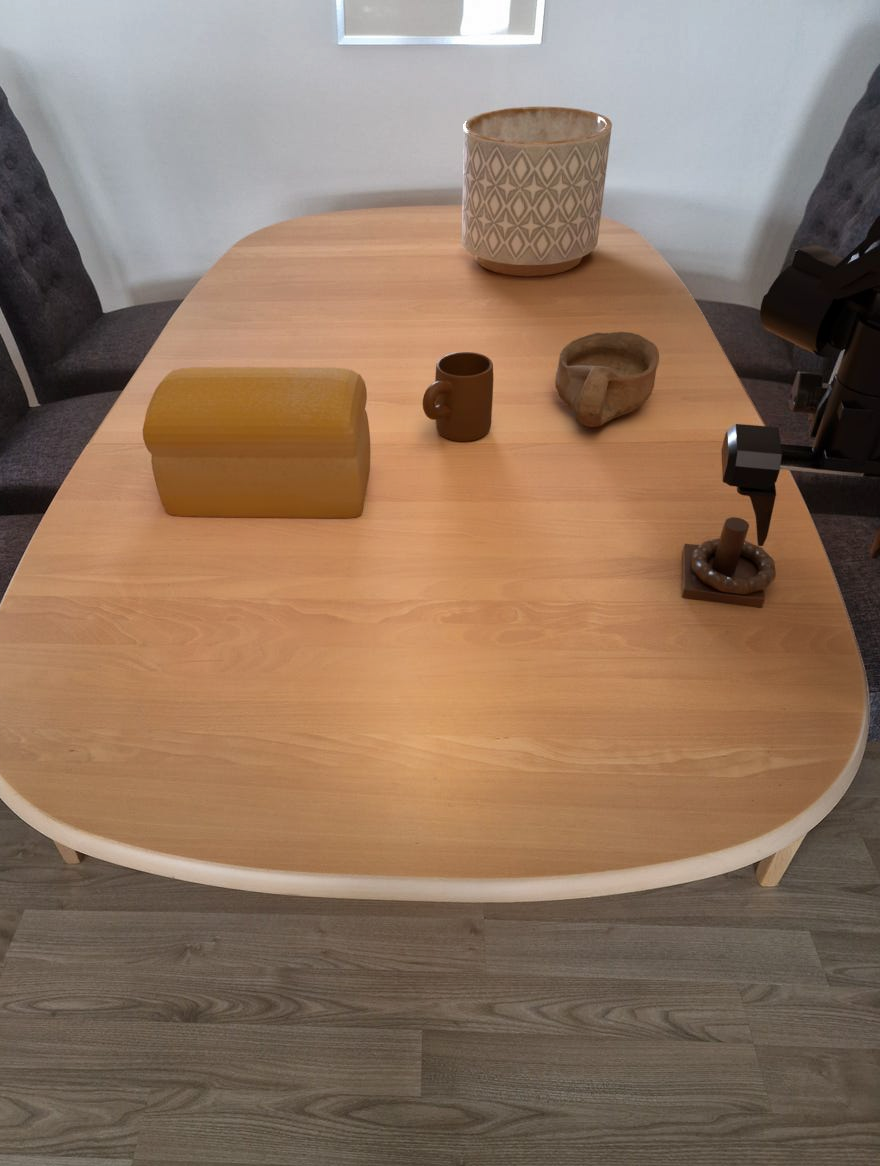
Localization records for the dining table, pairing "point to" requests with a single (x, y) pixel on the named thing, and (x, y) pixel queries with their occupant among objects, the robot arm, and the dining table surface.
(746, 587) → the ring
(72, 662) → the dining table surface
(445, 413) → the mug
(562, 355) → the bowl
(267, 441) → the bread
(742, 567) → the stand
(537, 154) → the planter
